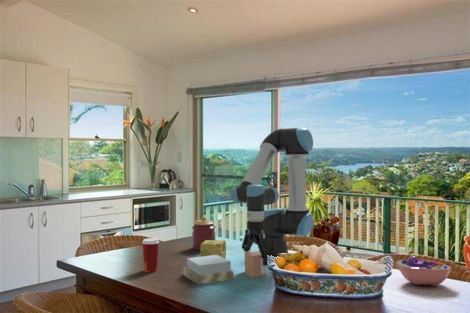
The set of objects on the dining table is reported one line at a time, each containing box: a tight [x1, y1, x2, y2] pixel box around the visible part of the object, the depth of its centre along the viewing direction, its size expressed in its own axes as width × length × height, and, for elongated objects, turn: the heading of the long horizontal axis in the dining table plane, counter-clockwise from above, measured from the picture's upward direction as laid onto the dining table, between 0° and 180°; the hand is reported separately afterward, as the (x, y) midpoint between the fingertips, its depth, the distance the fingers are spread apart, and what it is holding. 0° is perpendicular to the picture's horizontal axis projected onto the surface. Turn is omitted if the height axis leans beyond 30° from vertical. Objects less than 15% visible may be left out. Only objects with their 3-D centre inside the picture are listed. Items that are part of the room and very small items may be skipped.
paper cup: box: [141, 237, 160, 273], centre depth 204 cm, size 8×8×14 cm
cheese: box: [199, 239, 227, 259], centre depth 219 cm, size 10×11×10 cm
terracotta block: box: [244, 250, 268, 278], centre depth 198 cm, size 7×7×9 cm
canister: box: [191, 216, 217, 252], centre depth 250 cm, size 13×13×18 cm
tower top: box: [186, 255, 232, 275], centre depth 194 cm, size 14×14×4 cm
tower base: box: [182, 266, 235, 285], centre depth 194 cm, size 16×16×4 cm
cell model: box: [396, 255, 452, 287], centre depth 181 cm, size 17×20×11 cm
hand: (255, 269), depth 198 cm, fingers open, 13 cm apart
